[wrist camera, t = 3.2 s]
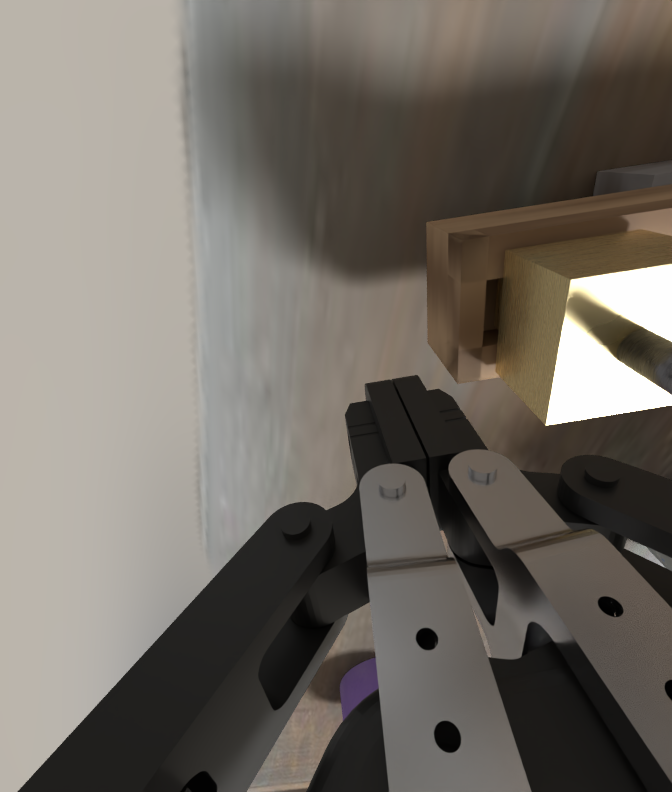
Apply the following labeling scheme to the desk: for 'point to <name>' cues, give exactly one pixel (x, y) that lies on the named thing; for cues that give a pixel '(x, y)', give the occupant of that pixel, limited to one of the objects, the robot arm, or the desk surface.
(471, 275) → the beam
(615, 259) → the rider
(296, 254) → the desk surface
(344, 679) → the tape roll
